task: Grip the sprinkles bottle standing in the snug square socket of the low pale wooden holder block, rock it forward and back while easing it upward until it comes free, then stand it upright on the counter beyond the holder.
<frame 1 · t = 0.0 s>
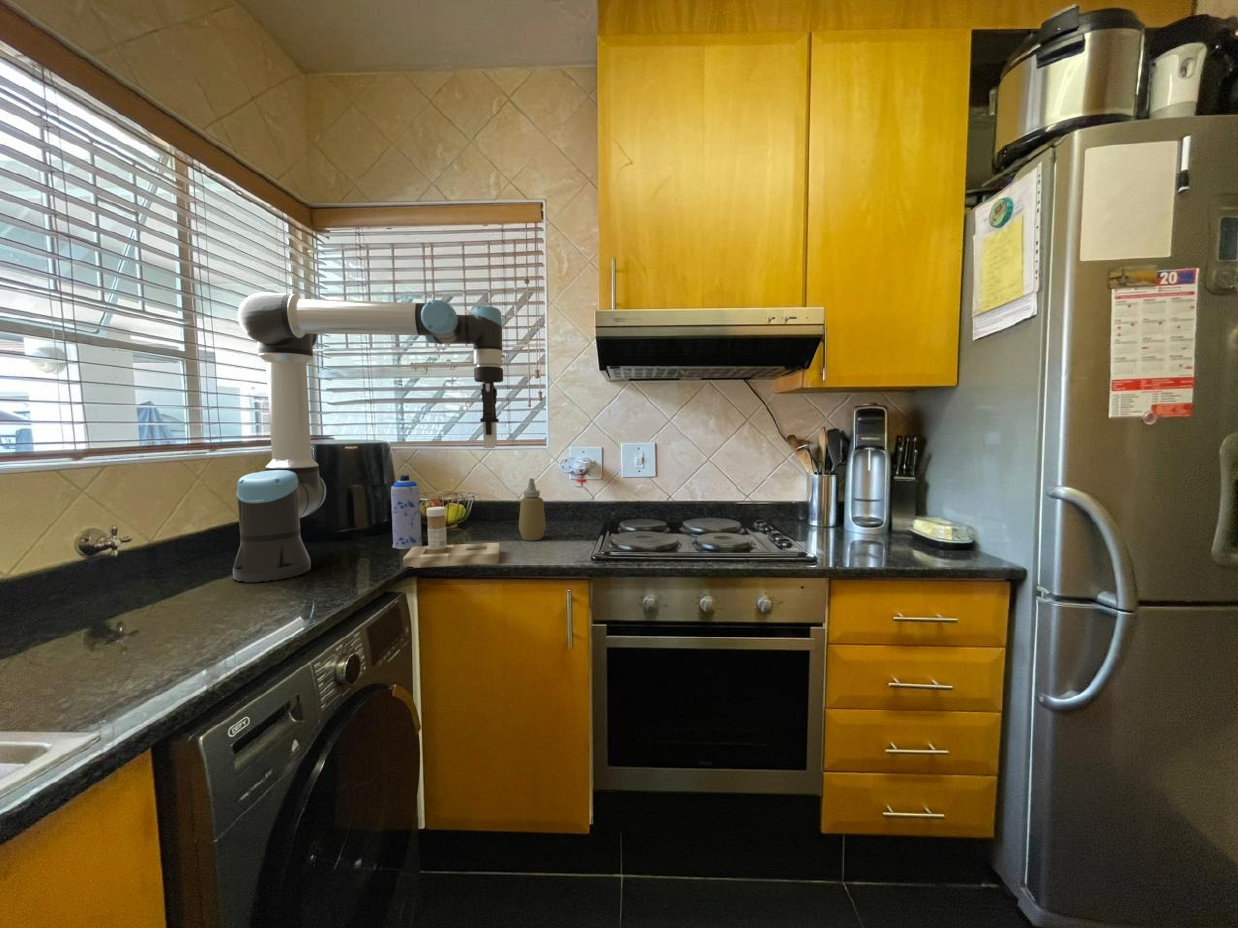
hand: (490, 446, 143), 28 cm above the countertop, tool pointing down, fingers open, 13 cm apart
sprinkles bottle: (438, 561, 134), resting in holder block
aerosol can: (407, 546, 151), on the countertop
squeeze bottle: (532, 539, 158), on the countertop
holder block: (454, 559, 135), on the countertop
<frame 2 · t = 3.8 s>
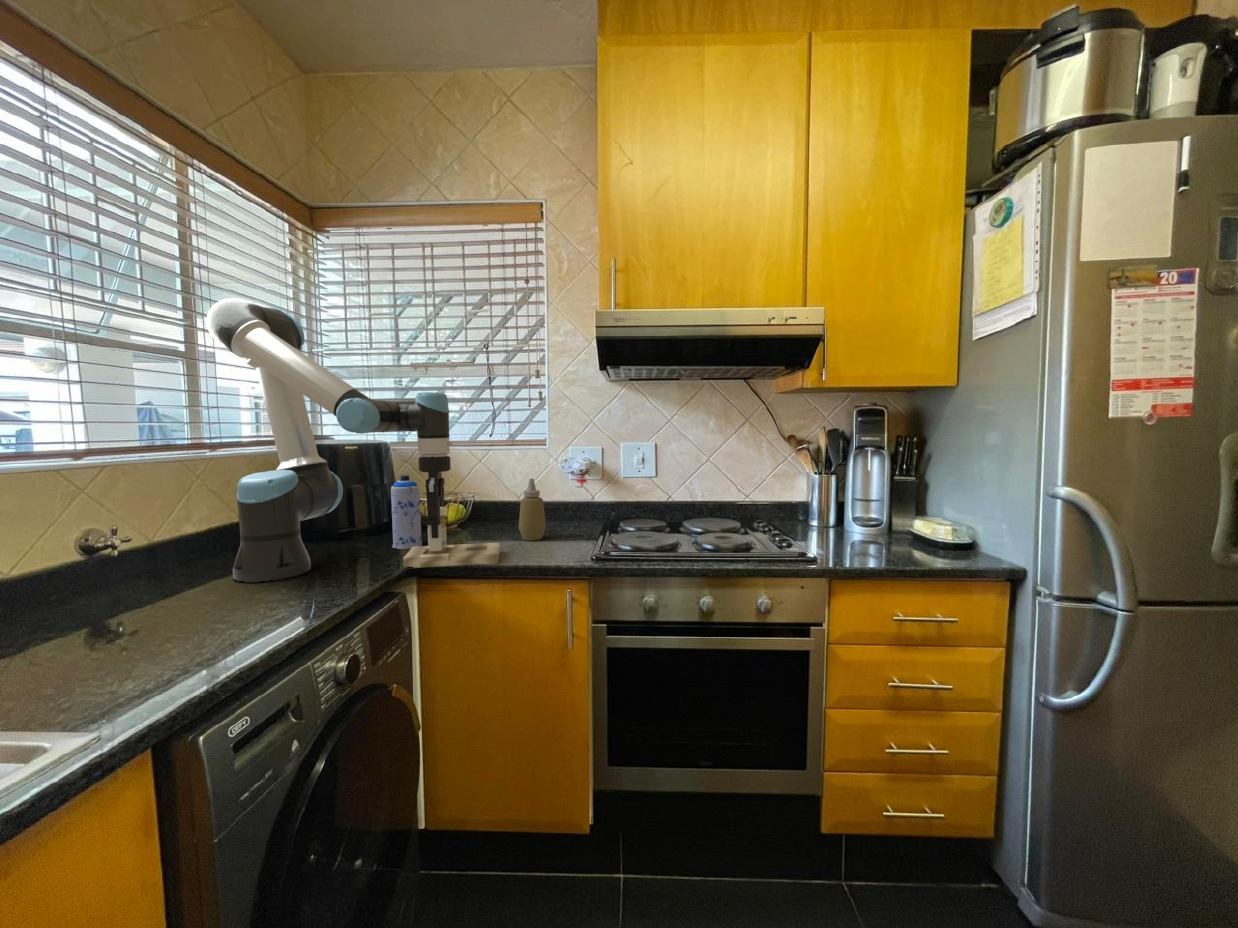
hand: (437, 547, 134), 3 cm above the countertop, tool pointing down, fingers closed on sprinkles bottle, 4 cm apart
sprinkles bottle: (438, 561, 134), resting in holder block, touching gripper
everything else where it was.
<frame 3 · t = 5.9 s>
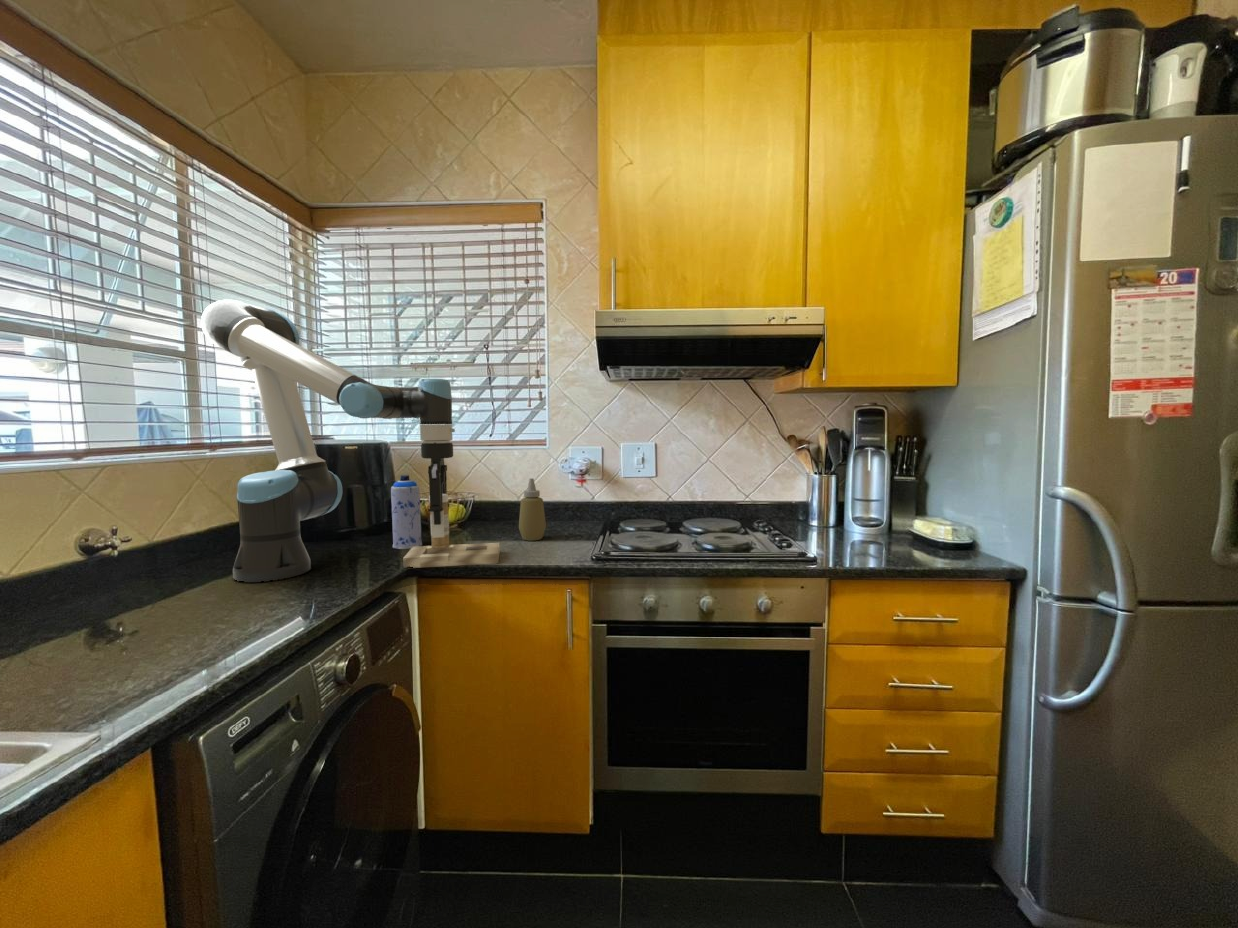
hand: (439, 534, 134), 6 cm above the countertop, tool pointing down, fingers closed on sprinkles bottle, 4 cm apart
sprinkles bottle: (440, 548, 134), point 3 cm above the countertop, touching gripper
everything else where it was.
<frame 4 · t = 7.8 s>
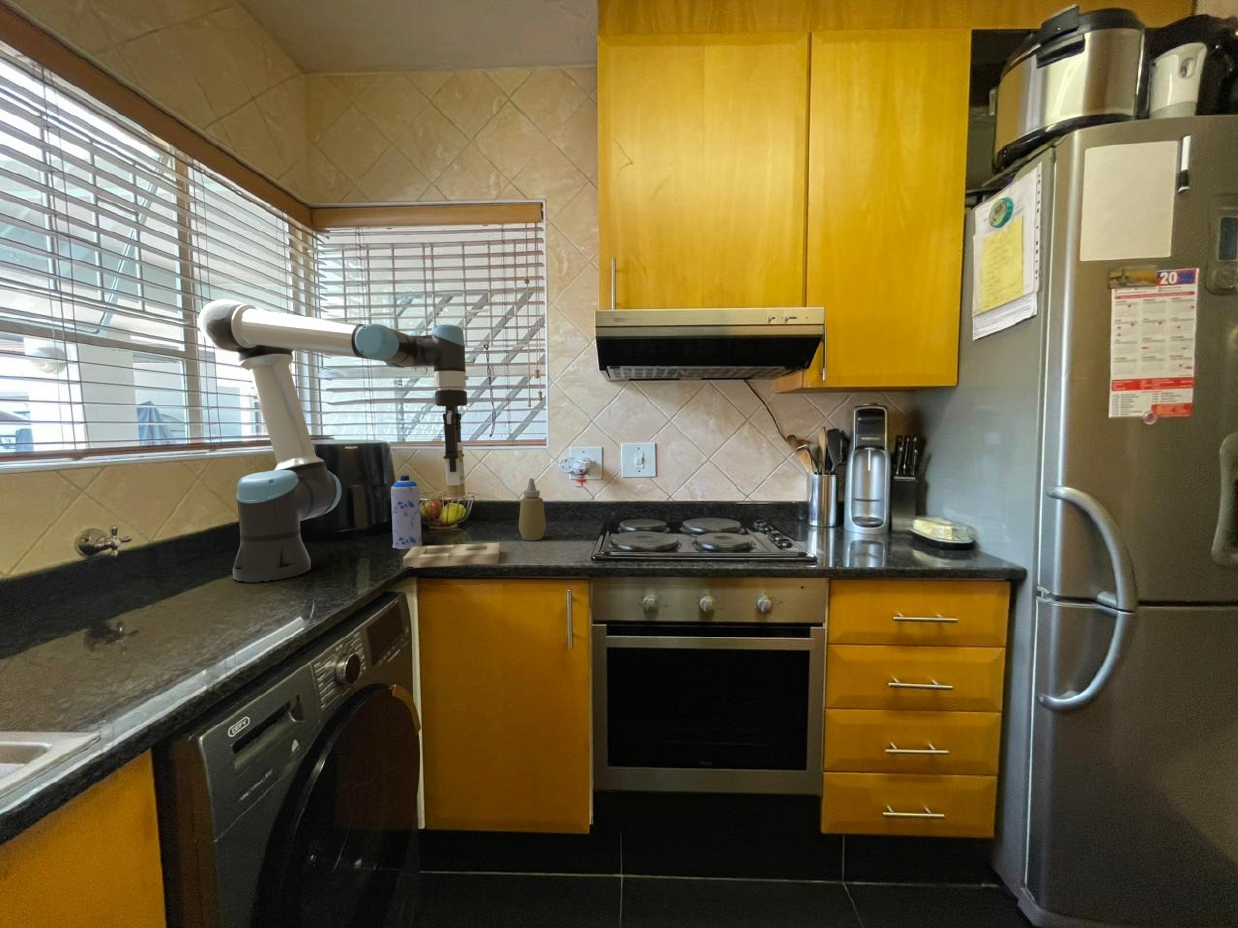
hand: (455, 483, 133), 19 cm above the countertop, tool pointing down, fingers closed on sprinkles bottle, 4 cm apart
sprinkles bottle: (456, 497, 133), point 16 cm above the countertop, touching gripper
everything else where it was.
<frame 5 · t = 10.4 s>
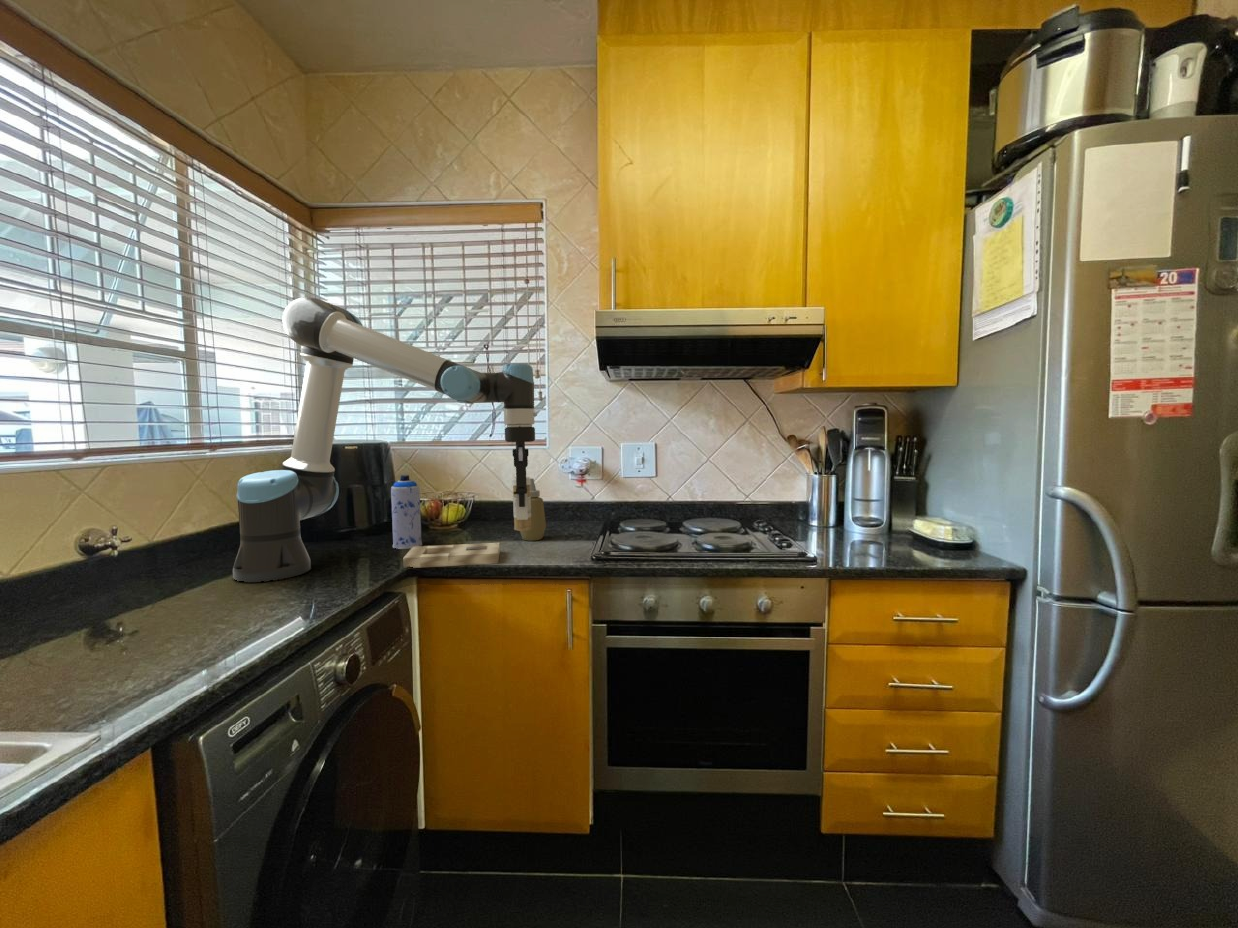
hand: (522, 517, 136), 10 cm above the countertop, tool pointing down, fingers closed on sprinkles bottle, 4 cm apart
sprinkles bottle: (522, 530, 136), point 7 cm above the countertop, touching gripper
everything else where it was.
when the fingers open (4 cm above the countertop, at t = 12.3 s): sprinkles bottle stays where it is, on the countertop.
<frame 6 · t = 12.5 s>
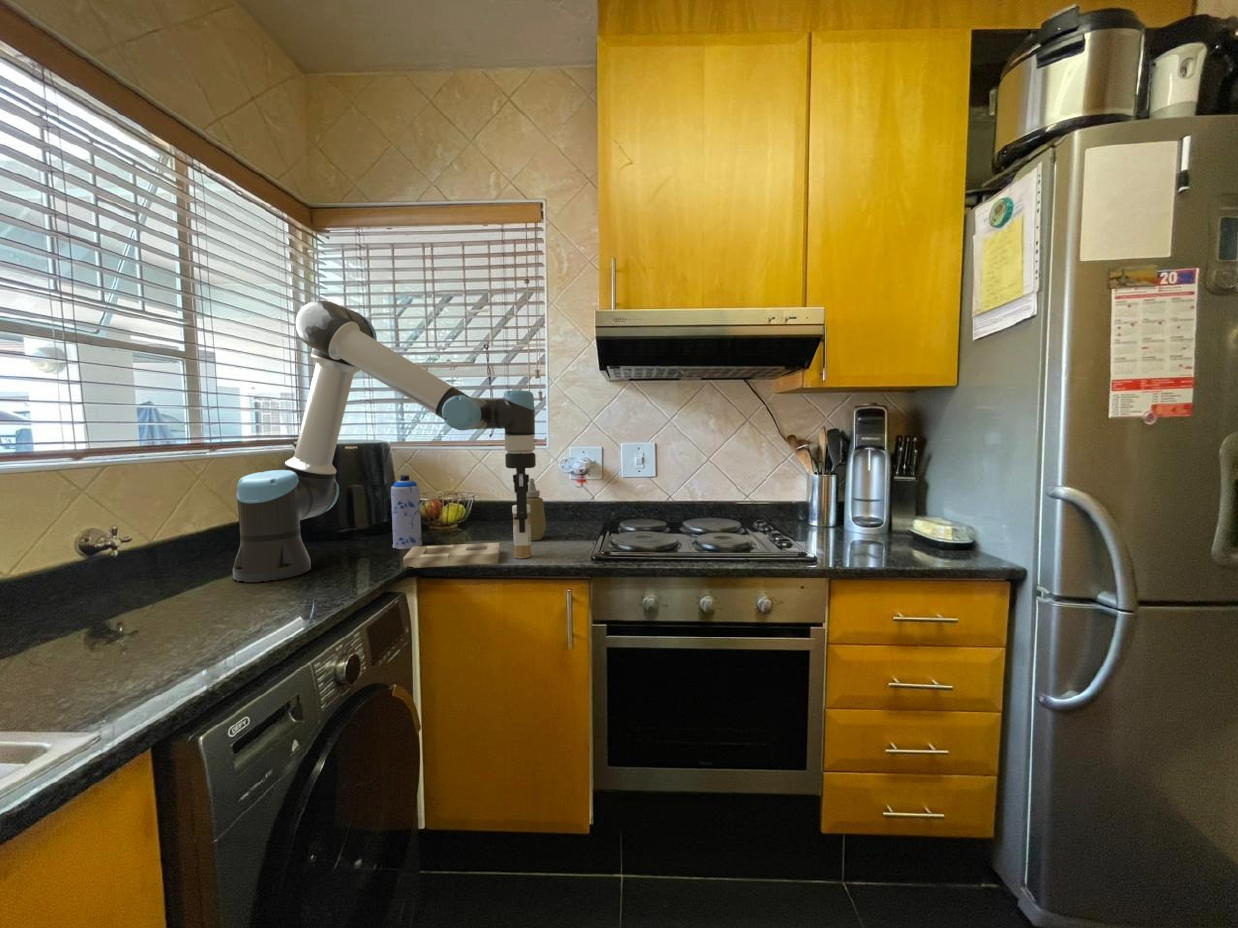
hand: (522, 541, 136), 4 cm above the countertop, tool pointing down, fingers open, 7 cm apart
sprinkles bottle: (522, 557, 137), on the countertop
everything else where it was.
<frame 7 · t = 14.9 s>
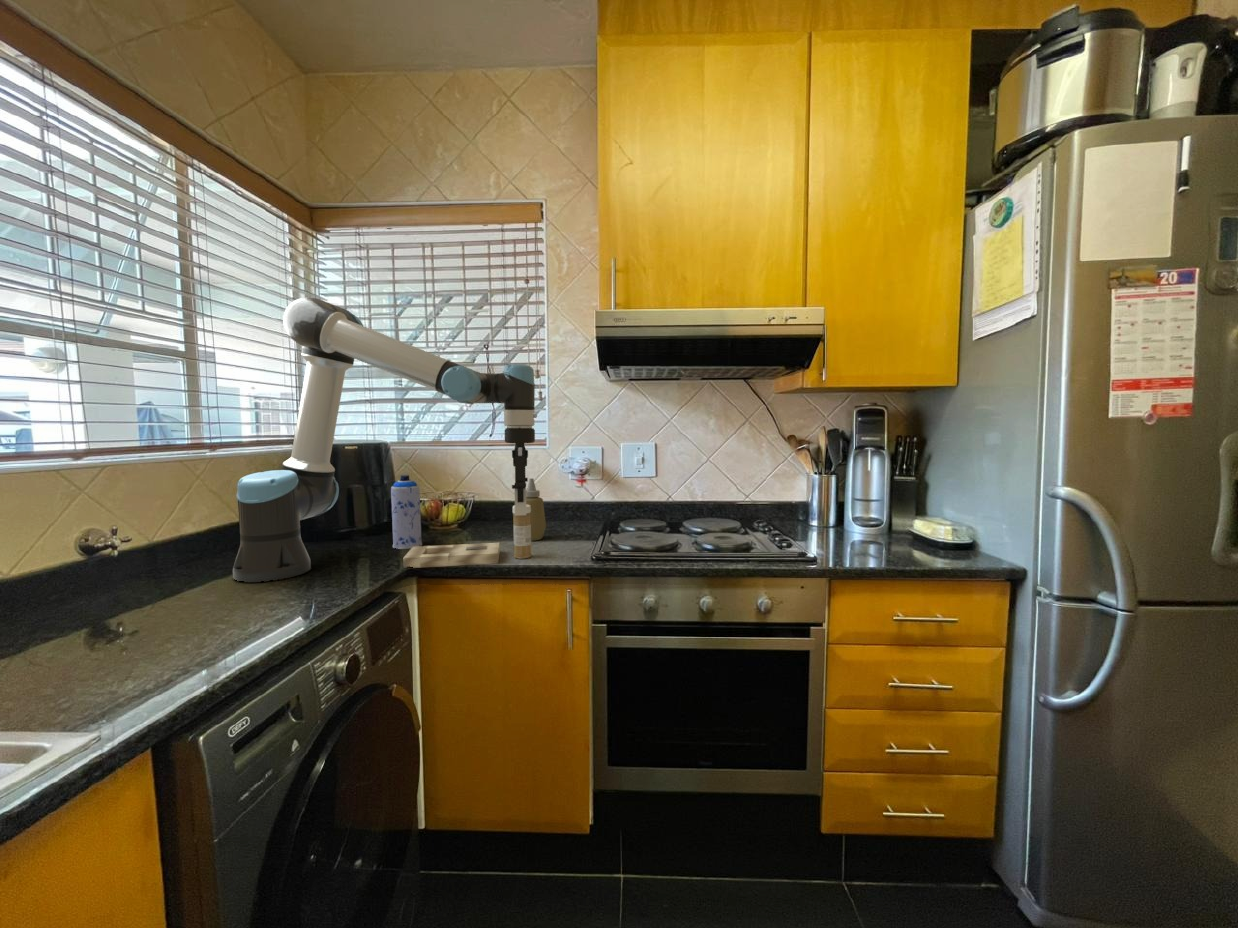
hand: (520, 510, 136), 12 cm above the countertop, tool pointing down, fingers open, 13 cm apart
nothing on the countertop moved.
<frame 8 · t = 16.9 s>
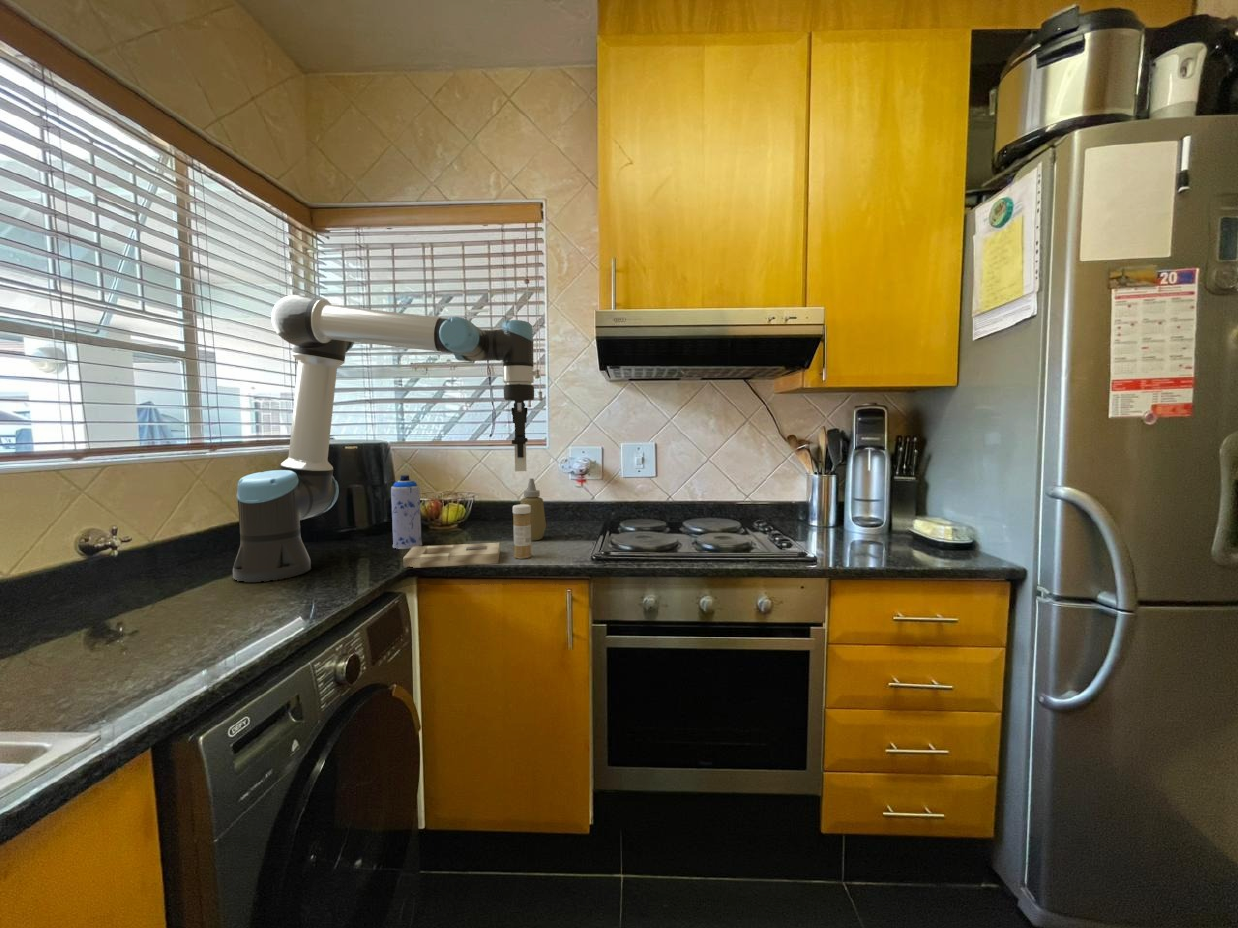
hand: (520, 469, 135), 23 cm above the countertop, tool pointing down, fingers open, 13 cm apart
nothing on the countertop moved.
at the end: sprinkles bottle inside the target area (0.1 cm from its centre), on the countertop; sprinkles bottle tilted 0°; the gripper is holding nothing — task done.
